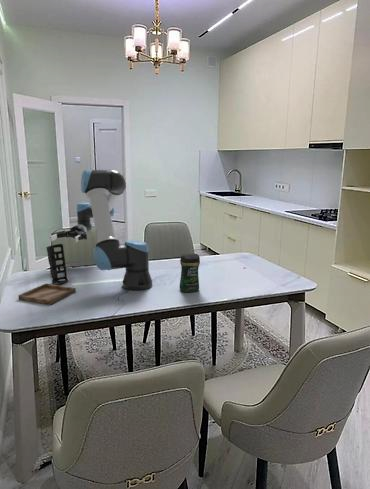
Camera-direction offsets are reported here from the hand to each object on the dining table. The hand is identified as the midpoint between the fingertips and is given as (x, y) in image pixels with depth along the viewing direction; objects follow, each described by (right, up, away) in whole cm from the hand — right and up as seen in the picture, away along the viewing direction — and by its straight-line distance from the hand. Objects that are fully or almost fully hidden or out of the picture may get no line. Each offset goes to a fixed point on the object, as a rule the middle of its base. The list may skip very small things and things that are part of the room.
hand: (63, 239), depth 199 cm
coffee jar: (+68, -26, -14) cm, 74 cm away
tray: (+1, -27, -24) cm, 36 cm away
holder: (-1, -23, -6) cm, 24 cm away
